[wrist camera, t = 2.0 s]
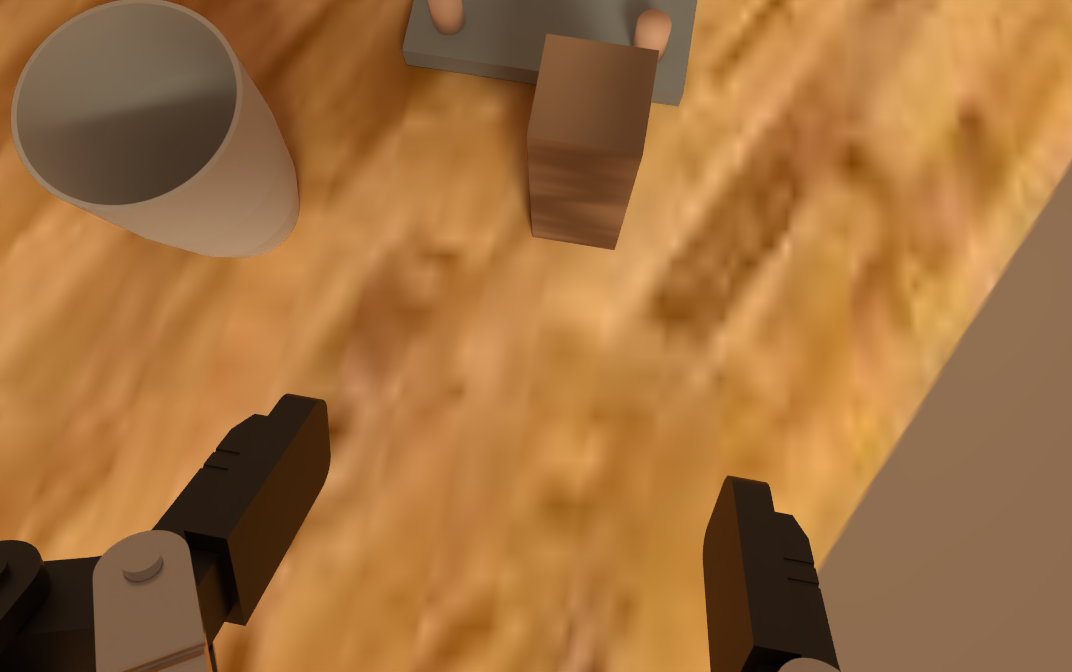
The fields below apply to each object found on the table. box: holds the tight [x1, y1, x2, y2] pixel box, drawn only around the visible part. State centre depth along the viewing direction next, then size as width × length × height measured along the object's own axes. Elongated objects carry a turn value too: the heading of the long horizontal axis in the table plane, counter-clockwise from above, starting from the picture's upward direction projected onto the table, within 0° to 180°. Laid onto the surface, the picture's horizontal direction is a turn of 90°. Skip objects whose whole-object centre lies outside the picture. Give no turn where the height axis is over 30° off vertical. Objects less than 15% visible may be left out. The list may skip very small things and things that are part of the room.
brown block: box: [526, 34, 659, 250], centre depth 29 cm, size 4×4×10 cm
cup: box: [11, 0, 299, 258], centre depth 29 cm, size 8×8×10 cm
